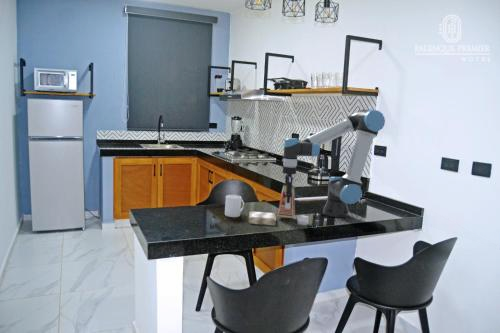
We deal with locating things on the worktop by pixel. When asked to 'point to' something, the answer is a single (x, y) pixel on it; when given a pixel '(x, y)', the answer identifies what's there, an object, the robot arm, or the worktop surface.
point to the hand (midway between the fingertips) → (286, 206)
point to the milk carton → (282, 211)
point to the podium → (262, 218)
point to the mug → (233, 205)
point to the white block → (302, 220)
